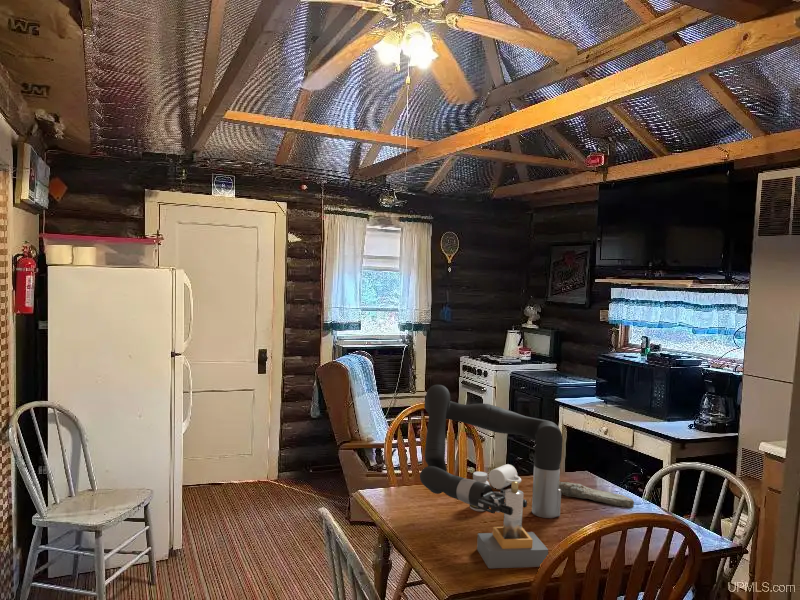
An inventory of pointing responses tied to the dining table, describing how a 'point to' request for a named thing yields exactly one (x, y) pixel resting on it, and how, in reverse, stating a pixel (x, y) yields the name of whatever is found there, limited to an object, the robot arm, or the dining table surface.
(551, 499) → the robot arm
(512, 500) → the gold capped bottle
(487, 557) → the grey base with frame
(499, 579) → the dining table surface
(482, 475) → the supplement bottle
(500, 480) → the mug
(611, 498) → the elongated rock
